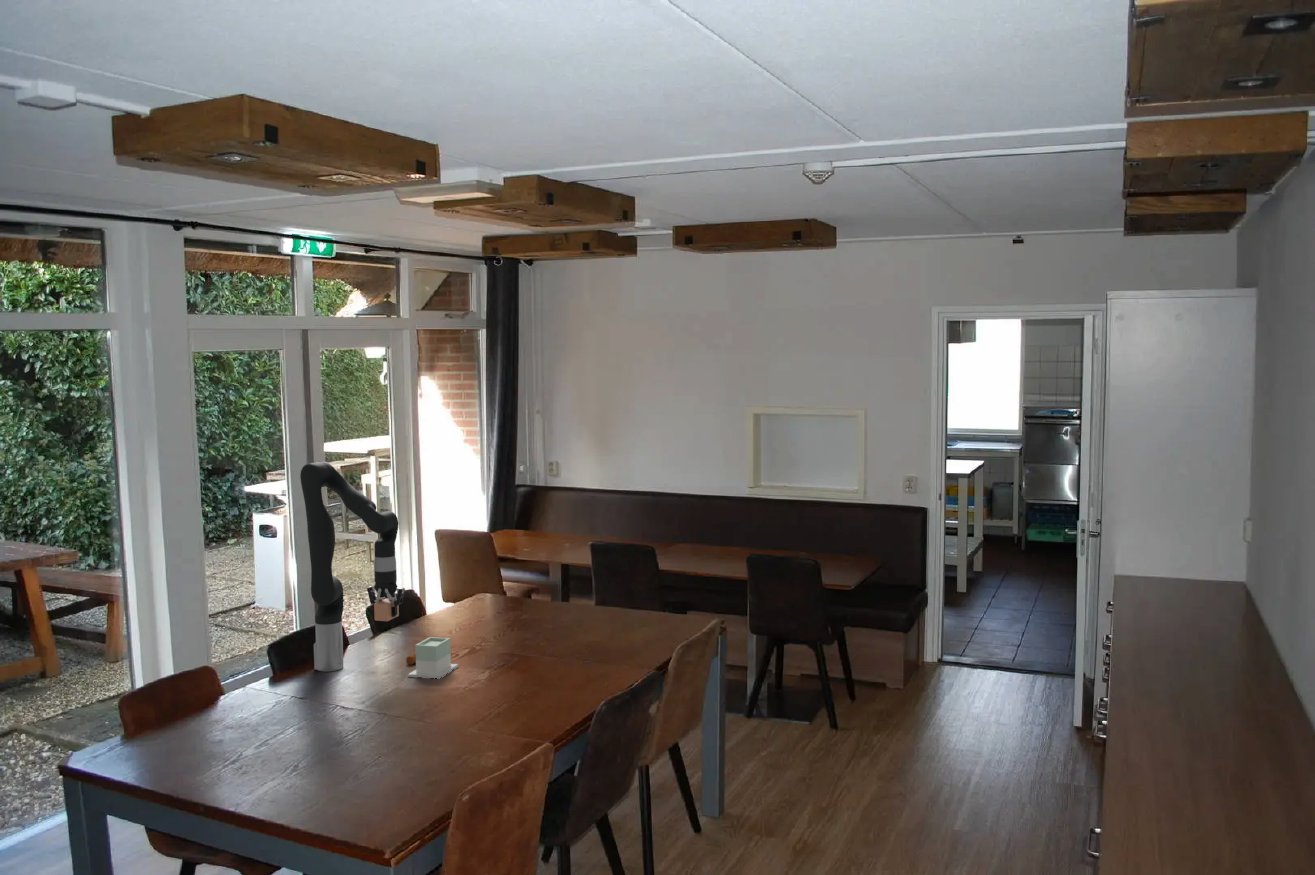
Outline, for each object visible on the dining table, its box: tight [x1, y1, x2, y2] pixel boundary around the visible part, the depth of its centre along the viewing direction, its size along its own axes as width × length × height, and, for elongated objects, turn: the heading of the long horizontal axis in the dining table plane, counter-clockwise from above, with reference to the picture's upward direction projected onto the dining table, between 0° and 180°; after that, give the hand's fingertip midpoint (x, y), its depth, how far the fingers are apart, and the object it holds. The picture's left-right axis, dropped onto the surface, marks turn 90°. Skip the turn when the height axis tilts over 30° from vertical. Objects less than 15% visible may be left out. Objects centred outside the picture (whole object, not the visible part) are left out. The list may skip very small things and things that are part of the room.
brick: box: [373, 598, 400, 622], centre depth 371 cm, size 8×5×6 cm, turn 165°
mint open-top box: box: [408, 636, 459, 680], centre depth 376 cm, size 15×12×11 cm
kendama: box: [405, 653, 416, 665], centre depth 394 cm, size 6×6×20 cm
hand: (386, 616), depth 371 cm, fingers closed on brick, 5 cm apart
